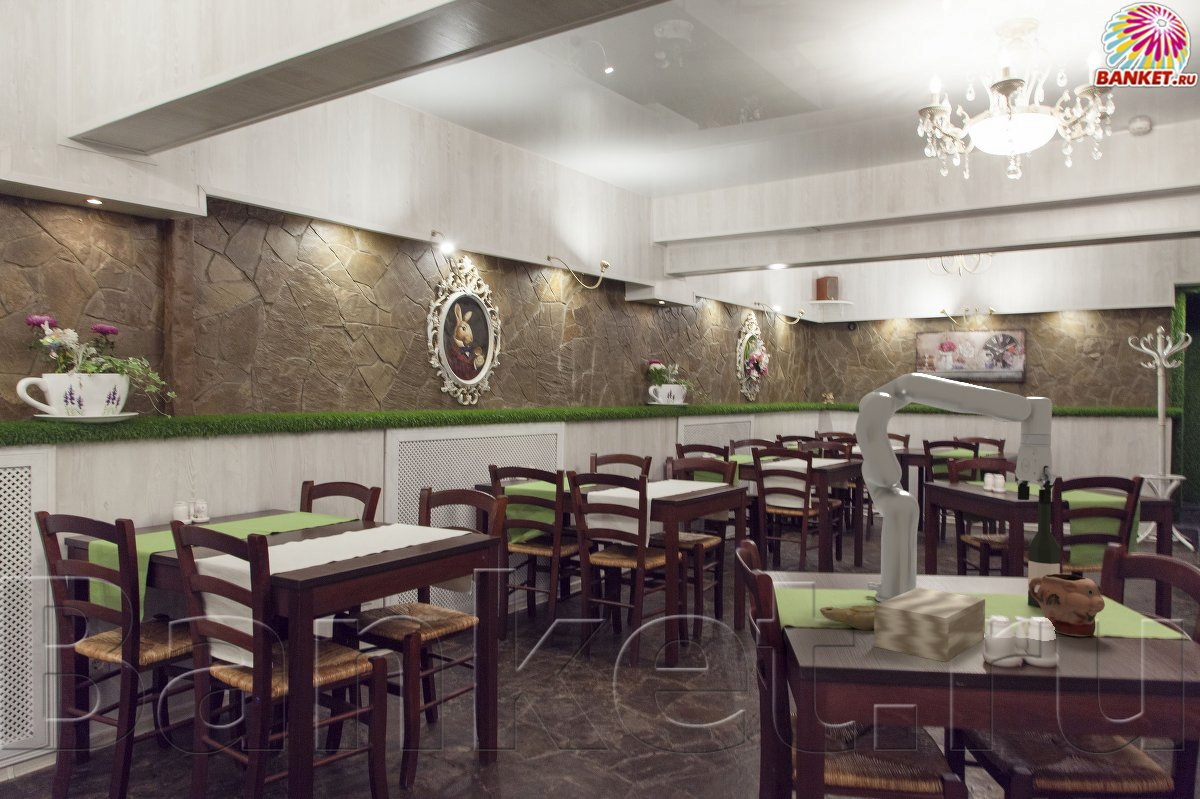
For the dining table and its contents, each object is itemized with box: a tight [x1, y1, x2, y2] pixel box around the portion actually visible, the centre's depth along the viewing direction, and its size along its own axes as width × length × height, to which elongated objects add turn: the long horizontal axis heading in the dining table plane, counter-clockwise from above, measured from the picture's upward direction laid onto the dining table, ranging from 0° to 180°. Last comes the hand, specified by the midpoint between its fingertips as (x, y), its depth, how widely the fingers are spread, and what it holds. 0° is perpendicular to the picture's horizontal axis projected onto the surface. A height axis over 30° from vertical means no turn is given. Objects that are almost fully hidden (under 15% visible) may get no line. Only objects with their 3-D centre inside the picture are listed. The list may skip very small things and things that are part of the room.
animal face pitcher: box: [1029, 573, 1106, 637], centre depth 201 cm, size 20×12×14 cm, turn 28°
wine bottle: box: [1027, 501, 1061, 609], centre depth 228 cm, size 8×8×30 cm
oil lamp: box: [819, 605, 875, 631], centre depth 201 cm, size 11×14×5 cm
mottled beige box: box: [873, 587, 986, 663], centre depth 189 cm, size 16×26×10 cm, turn 137°
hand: (1033, 501), depth 226 cm, fingers open, 9 cm apart
